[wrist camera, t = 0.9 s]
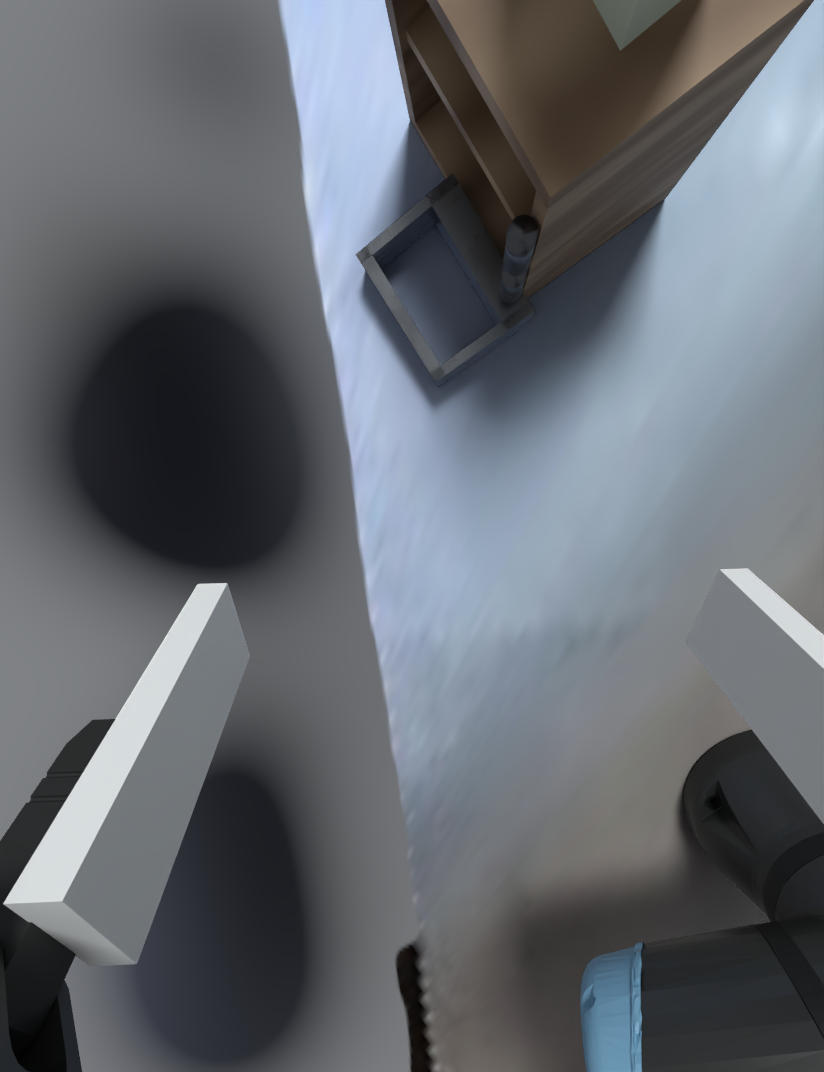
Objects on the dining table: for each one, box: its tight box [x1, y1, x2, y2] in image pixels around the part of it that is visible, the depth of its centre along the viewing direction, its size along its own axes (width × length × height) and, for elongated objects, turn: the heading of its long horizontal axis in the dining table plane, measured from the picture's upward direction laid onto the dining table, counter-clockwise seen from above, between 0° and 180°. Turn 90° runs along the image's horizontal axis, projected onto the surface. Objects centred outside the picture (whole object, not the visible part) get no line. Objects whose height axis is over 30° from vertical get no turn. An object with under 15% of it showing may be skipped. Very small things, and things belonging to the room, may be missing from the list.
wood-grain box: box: [385, 0, 814, 299], centre depth 25 cm, size 16×12×15 cm
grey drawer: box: [356, 173, 538, 387], centre depth 29 cm, size 11×9×12 cm
